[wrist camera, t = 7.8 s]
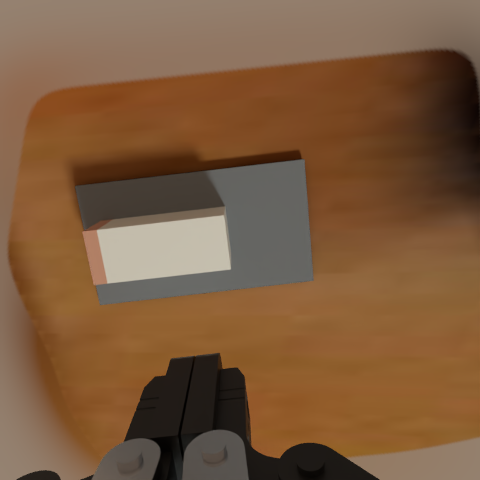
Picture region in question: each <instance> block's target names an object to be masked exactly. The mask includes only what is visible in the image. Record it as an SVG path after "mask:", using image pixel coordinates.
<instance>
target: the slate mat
mask: <svg viewBox="0 0 480 480" xmlns="http://www.w3.org/2000/svg"><path fill="white" fill-rule="evenodd" d="M75 189H76V193H77V198H78V203H79V208H80V212H81V217H82V222H83V227H84V230H86V229H88V228H89V227H91V226H93V225H95V224H96V223H98V222H100V221H103V220H112V219H120V218H129V217H138V216H146V215H155V214H164V213H172V212H181V211H189V210H198V209H207V208H215V207H224V206H225V209H226V217H227V225H228V233H229V241H230V249H231V270H222V271H213V272H204V273H196V274H187V275H178V276H169V277H161V278H152V279H143V280H135V281H126V282H117V283H108V284H100V285H96V288H97V293H98V298H99V302H100V305H104V304H113V303H122V302H130V301H139V300H148V299H157V298H166V297H174V296H183V295H192V294H201V293H210V292H218V291H227V290H236V289H245V288H253V287H262V286H271V285H280V284H289V283H297V282H306V281H313V268H312V255H311V241H310V228H309V215H308V201H307V188H306V175H305V162H304V159H300V160H292V161H283V162H275V163H266V164H257V165H249V166H240V167H232V168H223V169H215V170H206V171H198V172H189V173H181V174H172V175H164V176H155V177H147V178H138V179H130V180H121V181H112V182H104V183H95V184H87V185H78V186H75Z"/></svg>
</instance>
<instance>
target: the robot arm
mask: <svg viewBox="0 0 480 480" xmlns="http://www.w3.org/2000/svg"><path fill="white" fill-rule="evenodd" d="M17 480H61V479H60V477H59V475H58V474H57V473H55V472H52V471H47V470H45V471H37V472H33V473H30V474H27V475H25V476H22V477H20V478H18V479H17ZM81 480H379V479H378V478H376V477H375V476H373V475H371V474H370V473H368V472H367V471H365V470H364V469H362V468H361V467H359V466H357V465H356V464H354V463H353V462H351V461H350V460H348V459H347V458H345V457H344V456H342V455H340V454H339V453H337V452H336V451H334V450H333V449H331V448H329V447H327V446H325V445H322V444H317V443H303V444H298V445H295V446H293V447H291V448H289V449H288V450H287V451H285V452H284V453H283V455H282V456H281V457H280V459H279V458H273V457H269V456H265V455H263V454H261V453H259V452H257V451H256V450H254V449H253V448H252V447H251V428H250V415H249V408H248V400H247V392H246V385H245V377H244V375H243V374H242V373H241V371H240V370H239V369H238V368H228V369H222V362H221V356H220V353H215V354H206V355H197V356H196V357H195V356H189V357H180V358H172V359H171V360H170V363H169V366H168V370H167V373H166V376H157V377H154V378H153V379H152V380H151V381H150V382H149V383H148V384H147V385H146V386H145V387H144V390H143V393H142V395H141V398H140V402H139V403H138V406H137V408H136V411H135V414H134V416H133V419H132V422H131V424H130V427H129V429H128V432H127V435H126V437H125V440H124V442H123V443H121V444H119V445H117V446H115V447H114V448H113V449H111V450H110V451H109V452H108V453H107V454H106V455H105V456H104V457H103V459H102V461H101V462H100V464H99V466H98V468H97V470H96V472H95V474H94V475H91V476H89V477H87V478H84V479H81Z"/></svg>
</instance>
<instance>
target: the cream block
mask: <svg viewBox="0 0 480 480" xmlns="http://www.w3.org/2000/svg"><path fill="white" fill-rule="evenodd" d="M83 236H84V241H85V246H86V250H87V255H88V260H89V264H90V269H91V274H92V278H93V283H94V285H100V284H108V283H117V282H126V281H135V280H143V279H152V278H161V277H169V276H178V275H187V274H196V273H204V272H213V271H222V270H231V249H230V241H229V233H228V225H227V217H226V209H225V206H224V207H215V208H207V209H198V210H189V211H181V212H172V213H164V214H155V215H146V216H138V217H129V218H120V219H112V220H103V221H100V222H98V223H96V224H95V225H93V226H91V227H89V228H88V229H86V230H84V231H83Z"/></svg>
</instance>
